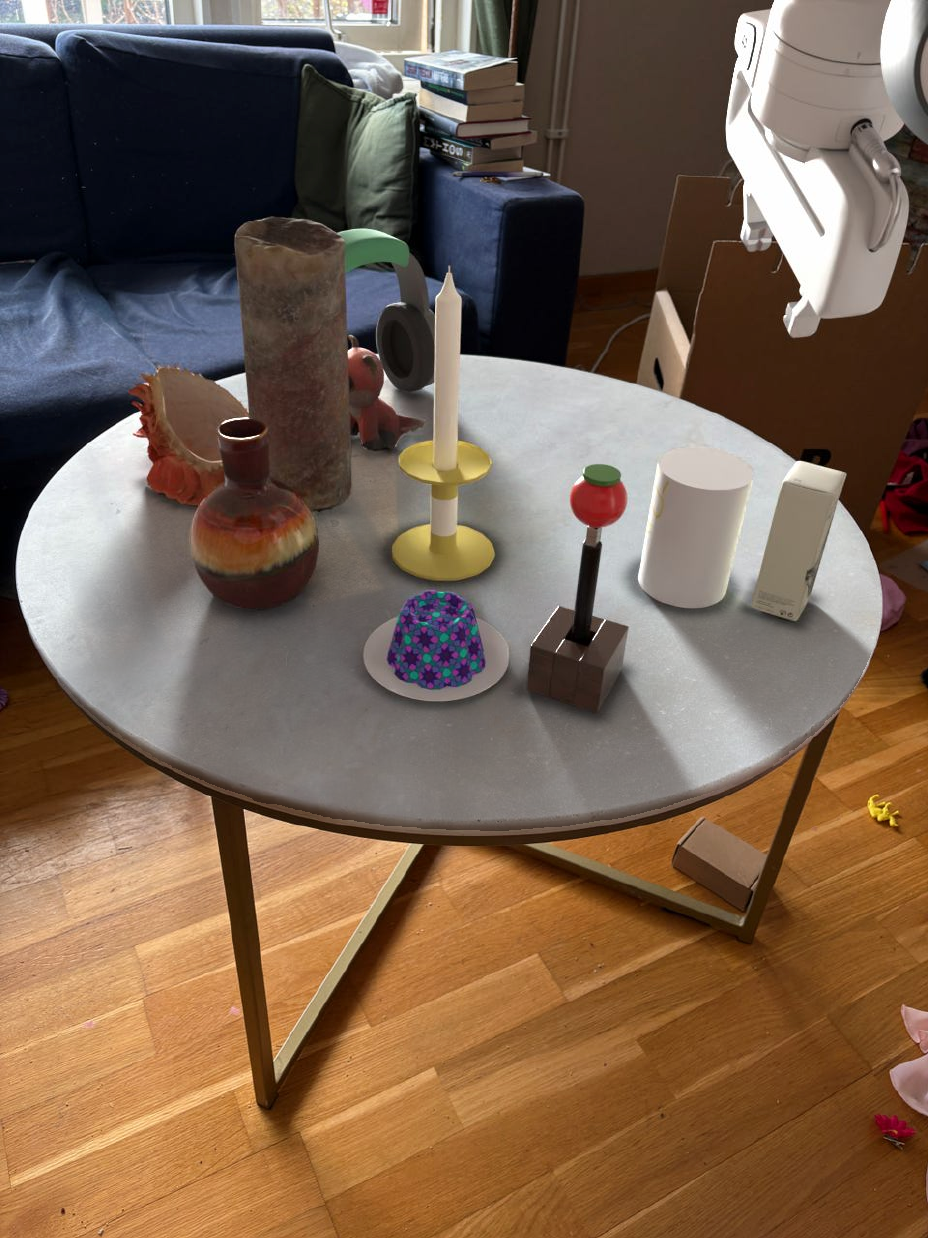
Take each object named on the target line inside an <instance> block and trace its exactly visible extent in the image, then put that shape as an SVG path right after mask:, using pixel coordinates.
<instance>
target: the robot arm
mask: <svg viewBox="0 0 928 1238" xmlns="http://www.w3.org/2000/svg"><path fill="white" fill-rule="evenodd" d="M734 48H735V51H736V54H737V55H738V58H737V59H736V62H735V67H734V72H733V77H732V82H731V88H730V93H729V99H728V106H727V114H726V120H725V136H726V146H727V152H728V153H729V155H730V157H731V158H732V160H733V162H734V164H735V166H736V167H737V169H738V171H739V173H740V175H741V177H742V179H743V180H744V181H743V189H742V191H743V218H744V219H743V223H742V226H741V231H740V239H741V241H742V243H743V244H744V246H745V248H746V249H747V251H748V252H750V253H751V252H752V253H753V252H756V251H761V252H762V251H766V250H768V249H769V248H770V246H771V245H772V241H773V240H772V238H773V237H774V238H775V240H776V242H777V244H778V246H779V247H780V250H781V252H782V253H783V255H784V257H785V259H786V261H787V262H788V265H789V267H790V268H791V270H792V273H793V274H794V275H795V277H796V279H797V281H798V283H799V285H800V288H799V294H800V296H801V299H800V300H799V301H791V302H788V303H787V306H786V308H785V315H784V316H783V319H782V320H783V323H784V326H785V328H786V330H787V332H788V335H789V336H790V338H792V339H796V338H805V337H806V338H807V337H811V336H813V334H815V333H816V332H817V329H818V327H819V324H820V321H821V319H826V320H827V319H841V318H842V319H843V318H849V317H857V316H862V315H866V314H869V313H871V312H873V311H875V310H876V309H878V308H879V307H880V306H881V305H882V303H883V301H884V299H885V298H886V295H887V292H888V289H889V286H890V283H891V281H892V278H893V274H894V271H895V268H896V265H897V261H898V258H899V254H900V252H901V249H902V245H903V240H904V237H905V234H906V229H907V225H908V219H909V212H910V200H909V193H908V191H907V188H906V186H905V184H904V182H903V180H902V178H901V175H902V168H901V166H900V163H899V160H898V159H897V158H896V157H895V156H894V154H892V153H890V152H889V151H888V150H887V149H888V148H887V147H886V144H885V143H884V142H885V141H888V140H890V139H891V138H892V137H894V136H895V135H897V133H899V132H900V131H901V129H902V128H903V126H904V125H905V126H907V128H908V130H910V131H911V132H912V134H914V135H915V136H916V137H917V138H918V139H919V140H920V141H922V142H924V143H925V144H926V145H928V0H774V2H773V4H772V7H771V8H769V9H762V10H761V9H760V10H756V11H750V12H744V13H742V14H741V15H740V17H739V18H738V22H737V26H736V32H735V37H734Z"/></svg>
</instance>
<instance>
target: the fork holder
mask: <svg viewBox="0 0 928 1238" xmlns="http://www.w3.org/2000/svg"><path fill="white" fill-rule="evenodd" d="M574 611H575V609H572V608H567V607H564V606H561V605H557V608H556V609H555V610H554V612H553V613H552V615H551V616H550V617H549V618H548V620H547V621H546V623H545V625H543V627H542V629H541V630H540V632H539V633H538V634H537V636H536V637H535V639H534V640H533V641H532V643H531V644H530V647H529V658H528V669H527V677H526V678H527V679H526V680H527V681H526V690H527V691H529V692H533V693H536V694H539V695H542V696H544V697H548V698H551V699H553V700H556V701H560V702H562V703H565V704H568V705H572V706H574V707H578V708H579V709H580V708H581V709H583V710H586V711H590V712H593V713H594V714H598V713H599V711H600V709H601V708H602V706H603V704H604V702H605V700H606V699H607V697H608V695H609V694H610V691H611V690H612V688H613V686H614V684H615V682H616V681H617V678H618V677H619V675H620V673H621V671H622V668H623V663H624V657H625V651H626V646H627V639H628V633H629V629H630V626H629V625H625V624H622V623H619V622H615V621H612V620H608V619H605V618H602V617H598V616H595V615H592V622H591V629H590V636H589V643H588V647H587V646H584V645H581V644H578V643H575V642H571V634H572V626H573V618H574Z"/></svg>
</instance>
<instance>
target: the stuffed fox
mask: <svg viewBox="0 0 928 1238" xmlns="http://www.w3.org/2000/svg"><path fill="white" fill-rule="evenodd" d="M347 338H348V339H349V341H350V343H351V348H350V349H348V380H349V404H350V434H351V437H358V436H360V440H361V444H360V445H361V447H362V448H364V449H366V450H367V451H368V452H380V451H387V450H388V451H389V450H393V449H396V448H397V446H398V443H399V441H400V440H401V438H402V437H404V436H405V435H407V434H408V433H414V432H416V431H417V430H420V429H423V428H424V427H425V425H426V423H427V421H428V419H426V420H425V419H421V418H417V417H412V416H406V415H401V414H397V412H396V410H395V409H394V408H393V407H392V406H391V405H390V404H388V403H386V402H385V401H384V400H383V399H382V398H380V395H381V392H382V390H383V388H384V384H385V371H384V369H383V367H382V364H381V362H380V358H379V356H378V354H376V353H375V352H372V351H371V350H369V349H366V348H363V347H360V346H359V345H360V343H359V340H358V339H357V338H356V336H354V335H352V334H349V335H347Z"/></svg>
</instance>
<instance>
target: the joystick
mask: <svg viewBox="0 0 928 1238" xmlns="http://www.w3.org/2000/svg"><path fill="white" fill-rule="evenodd" d="M621 473H622V472H621V471H620V469H618V468H616V467H615V466H612V465H610V464H603V463H593V464H589V465H587V466H585V467H584V468H583V470H582V476H580V477H579V478H578V479H577V480H576V481H575V483H574V484H573V486H572V488H571V491H570V495H569V503H570V509H571V511H572V514H573V515H574V516H575V518H576V519H577V520H578V521H579V522H580V523H582V524H583V525H585V526H587V527H586V535H585V539H584V540H583V542H582V547H581V556H580V564H579V565H580V566H579V571H578V580H577V587H576V594H575V604H574V618H573V626H572V634H571V642H575V643H578V644H581V645H584V646H587V647H588V643H589V636H590V629H591V622H592V616H594V615H593V614H594V607H595V601H596V594H597V593H596V592H597V585H598V578H599V572H600V571H599V570H600V565H601V564H600V563H601V557H602V549H603V542H602V541H601V539H602V532H603V528H607V527H610V526H612V525H613V524H615V523H616V522H618V521H619V520H620V519H621V518H622V516H623V515H624V513H625V512H626V509H627V506H628V505H627V504H628V492H627V489H626V486H625V484H624V482H623V481H622V479H621V478H622V474H621Z"/></svg>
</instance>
